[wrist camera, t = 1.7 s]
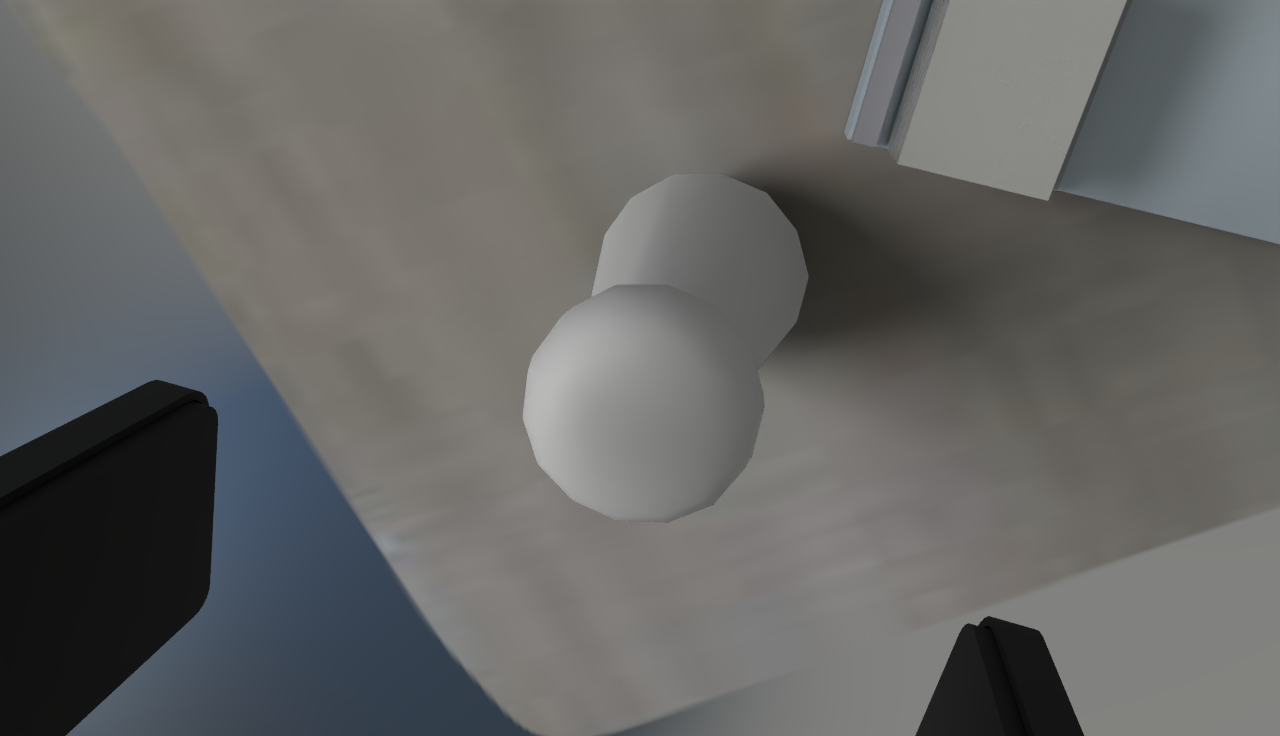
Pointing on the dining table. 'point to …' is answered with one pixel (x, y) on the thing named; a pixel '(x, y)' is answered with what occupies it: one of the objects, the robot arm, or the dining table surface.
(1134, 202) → the base
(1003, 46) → the cover
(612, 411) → the salt shaker
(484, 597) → the dining table surface
